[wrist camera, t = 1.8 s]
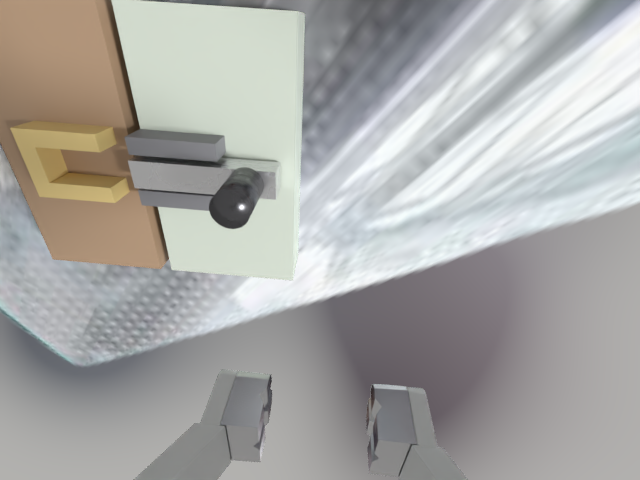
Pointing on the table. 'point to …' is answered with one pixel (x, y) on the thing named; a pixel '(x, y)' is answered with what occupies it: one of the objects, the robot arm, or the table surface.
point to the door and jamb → (151, 126)
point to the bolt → (212, 183)
